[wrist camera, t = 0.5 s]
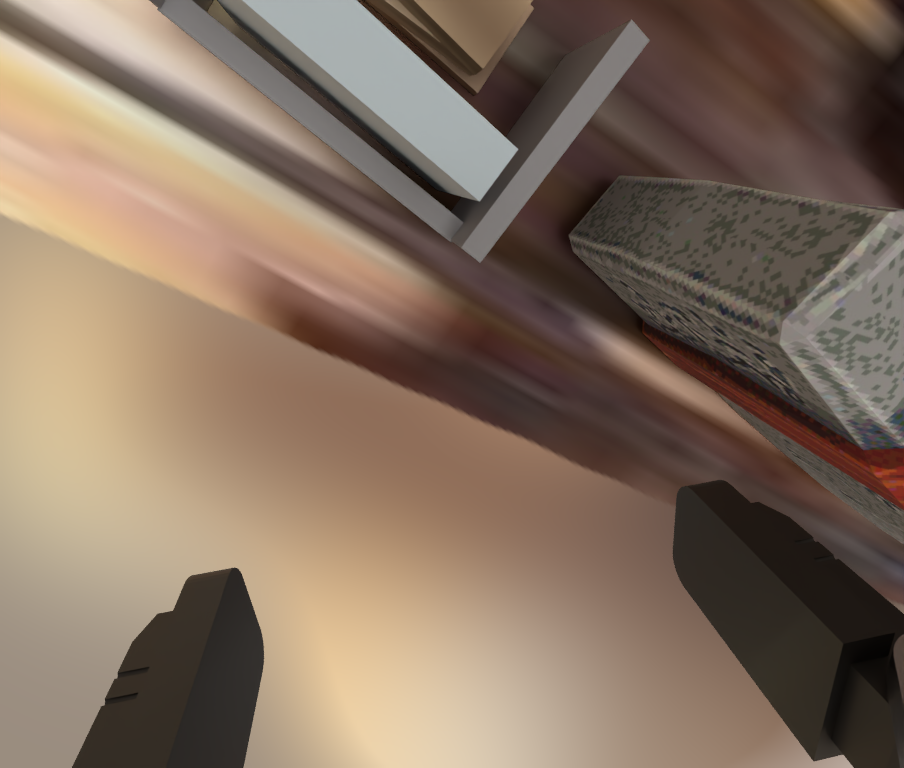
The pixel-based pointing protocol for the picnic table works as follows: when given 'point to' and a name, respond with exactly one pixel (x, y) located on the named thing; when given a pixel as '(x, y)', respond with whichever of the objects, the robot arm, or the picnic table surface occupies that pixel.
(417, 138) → the grey flat slab
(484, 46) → the offcut
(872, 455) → the decorative stone tablet
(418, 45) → the offcut
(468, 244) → the rack
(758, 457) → the picnic table surface
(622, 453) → the picnic table surface
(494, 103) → the picnic table surface
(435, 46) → the offcut
